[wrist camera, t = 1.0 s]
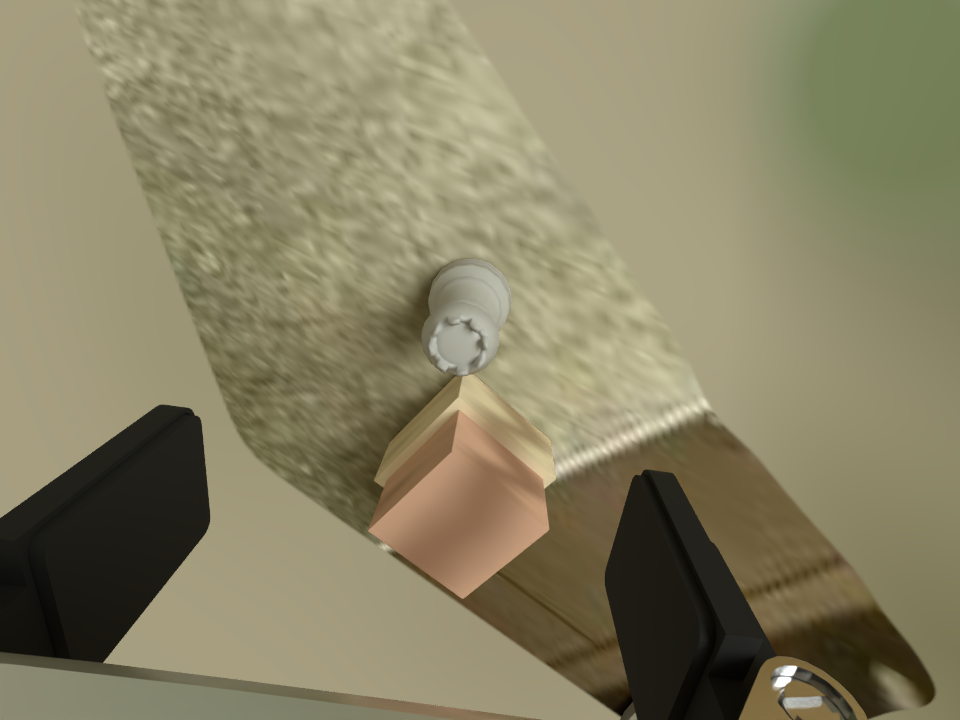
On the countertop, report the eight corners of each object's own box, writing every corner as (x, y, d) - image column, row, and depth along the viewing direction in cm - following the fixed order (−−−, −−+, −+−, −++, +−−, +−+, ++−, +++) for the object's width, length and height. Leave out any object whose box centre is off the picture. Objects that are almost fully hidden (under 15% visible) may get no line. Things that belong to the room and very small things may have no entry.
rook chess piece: (428, 332, 28) (401, 393, 21) (431, 253, 27) (403, 288, 19) (507, 339, 28) (508, 402, 21) (515, 260, 26) (519, 298, 19)
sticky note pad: (549, 439, 30) (564, 529, 23) (473, 507, 32) (463, 609, 25) (464, 366, 29) (450, 437, 21) (389, 442, 31) (352, 531, 23)
